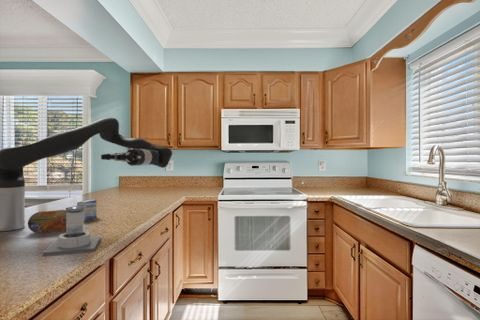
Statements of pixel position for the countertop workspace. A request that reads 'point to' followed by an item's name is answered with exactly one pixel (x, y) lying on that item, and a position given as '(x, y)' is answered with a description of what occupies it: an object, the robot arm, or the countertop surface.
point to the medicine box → (88, 208)
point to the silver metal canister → (74, 221)
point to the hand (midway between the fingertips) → (109, 157)
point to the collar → (72, 244)
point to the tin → (48, 221)
